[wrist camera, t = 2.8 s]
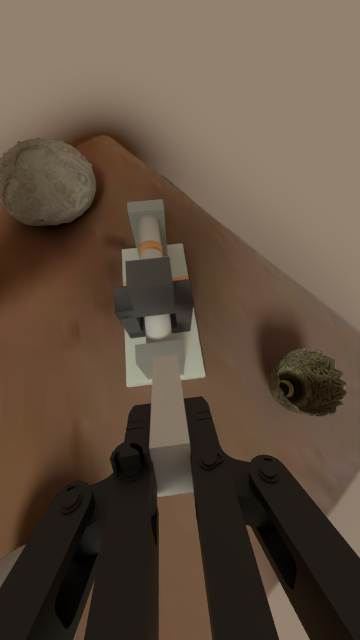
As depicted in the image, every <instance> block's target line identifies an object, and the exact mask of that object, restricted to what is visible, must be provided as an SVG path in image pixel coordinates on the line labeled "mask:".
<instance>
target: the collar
mask: <svg viewBox="0 0 360 640" xmlns="http://www.w3.org/2000/svg"><path fill="white" fill-rule="evenodd" d="M125 266H126V286H121V287H115V313H116V315H117V317H118V318H119V320H120V322H121V323H122V325H123V327H124V328H125V330H126V332H127V333H128V335H129V337H130V338H139V337H146V331H145V317H147V316H155V315H164V314H170V321H171V329H172V333H180V332H188V331H190V330H191V321H192V313H193V304H194V303H193V297H192V292H191V286H190V280H189V279H184V280H175V281H173V280H172V273H171V265H170V258H169V257H161V258H151V259H141V260H132V261H125Z"/></svg>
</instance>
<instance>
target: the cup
mask: <svg viewBox="0 0 360 640" xmlns="http://www.w3.org/2000/svg"><path fill="white" fill-rule="evenodd" d="M304 350H305V349H304V348H300V349H297V350H292V351H290V352H289V353H288V354H286V355H285V356H284V357H283V358H282V359H281V361H280V362H279V363H278V364H277V365H276V366H275V367H274V369H273V370H272V372H271V374H270V378H269V387H270V391H271V394H272V395H273V397H274V399H275V400H276V401H277V402H278V403H279V404H280V405H281V406H283V407H284V408H286V409H288V410H290V411H293V412H296V413H300V414H306V415H311V416H325V415H332V414H335V413H336V407H340V406H342V405H343V403H342V402H341V401H339V400H340V399H342V398H343V397H344V396H345V395H346V394H347V392H346V391H344V389H345V387H346V385H347V384H346V383H345V382H344V381H342V380H340V379H339V377H340V376H342V375H343V373H342V372H341V371H338V370H336V368H335V366H336V363H335V360H334V359H332V358H330V357H327V356H324V355H323V352H322V351H315V352H309V351H304ZM280 383H284V384H286V385H287V386H288V388H289V393H288V394H287V395H284V392H283V391H282V390H281V388H280Z"/></svg>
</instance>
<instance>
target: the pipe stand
mask: <svg viewBox="0 0 360 640" xmlns="http://www.w3.org/2000/svg"><path fill="white" fill-rule="evenodd" d="M127 207H128V216H129V220H130V224H131V228H132V231H133V235H134V239H135V243H136V247H137V248H131V249H122V268H123V286H126V266H125V261H132V260H141V259H151V258H161V257H169V258H170V265H171V273H172V280H173V281H175V280H184V279H189V278H188V272H187V266H186V261H185V255H184V249H183V243H181V244H171V245H167V241H166V227H165V214H164V205H163V199H159V200H148V201H137V202H127ZM145 331H146V337H139V338H130V337H129V335H128V333H127V332H126V330H125V352H126V380H127V387H135V386H142V385H150V384H152V377H153V357H159V356H167V355H176V354H177V358H178V365H179V371H180V378H181V380H188V379H195V378H203V377H205V371H204V365H203V359H202V354H201V348H200V342H199V336H198V330H197V325H196V319H195V313H194V307H193V313H192V321H191V330H190V331H188V332H180V333H172V329H171V321H170V314H164V315H155V316H147V317H145Z"/></svg>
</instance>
